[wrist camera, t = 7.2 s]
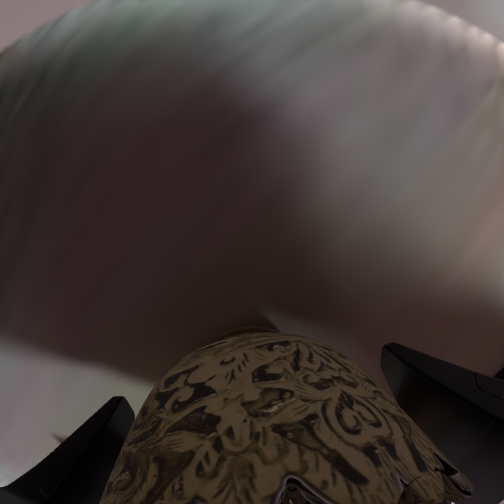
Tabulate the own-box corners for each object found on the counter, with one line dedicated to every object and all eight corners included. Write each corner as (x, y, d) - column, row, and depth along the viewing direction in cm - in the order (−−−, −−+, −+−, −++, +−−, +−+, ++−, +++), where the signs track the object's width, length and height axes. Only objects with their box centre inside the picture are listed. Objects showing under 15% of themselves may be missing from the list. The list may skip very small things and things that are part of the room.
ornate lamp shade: (305, 426, 11) (353, 569, 4) (145, 407, 10) (115, 573, 3) (373, 285, 10) (534, 440, 2) (161, 240, 8) (5, 493, 1)
